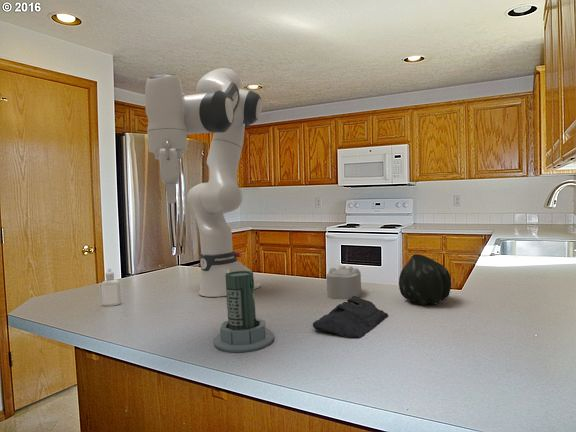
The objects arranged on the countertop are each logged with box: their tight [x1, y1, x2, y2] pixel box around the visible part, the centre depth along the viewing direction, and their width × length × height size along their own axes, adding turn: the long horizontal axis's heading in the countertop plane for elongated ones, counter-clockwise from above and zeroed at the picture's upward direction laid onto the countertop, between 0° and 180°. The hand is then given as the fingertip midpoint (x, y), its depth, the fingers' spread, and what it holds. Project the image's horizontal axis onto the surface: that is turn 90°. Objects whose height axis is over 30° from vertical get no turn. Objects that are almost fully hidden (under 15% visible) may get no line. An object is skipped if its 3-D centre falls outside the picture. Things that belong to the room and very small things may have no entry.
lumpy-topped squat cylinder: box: [326, 265, 362, 300], centre depth 135 cm, size 10×13×9 cm
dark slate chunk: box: [312, 296, 389, 339], centre depth 107 cm, size 15×22×5 cm
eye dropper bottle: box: [100, 268, 122, 307], centre depth 136 cm, size 4×6×12 cm
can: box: [225, 271, 257, 330], centre depth 96 cm, size 6×6×15 cm
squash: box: [398, 253, 452, 306], centre depth 122 cm, size 14×15×15 cm
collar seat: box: [213, 317, 275, 354], centre depth 97 cm, size 14×14×4 cm
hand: (172, 203), depth 98 cm, fingers open, 8 cm apart
